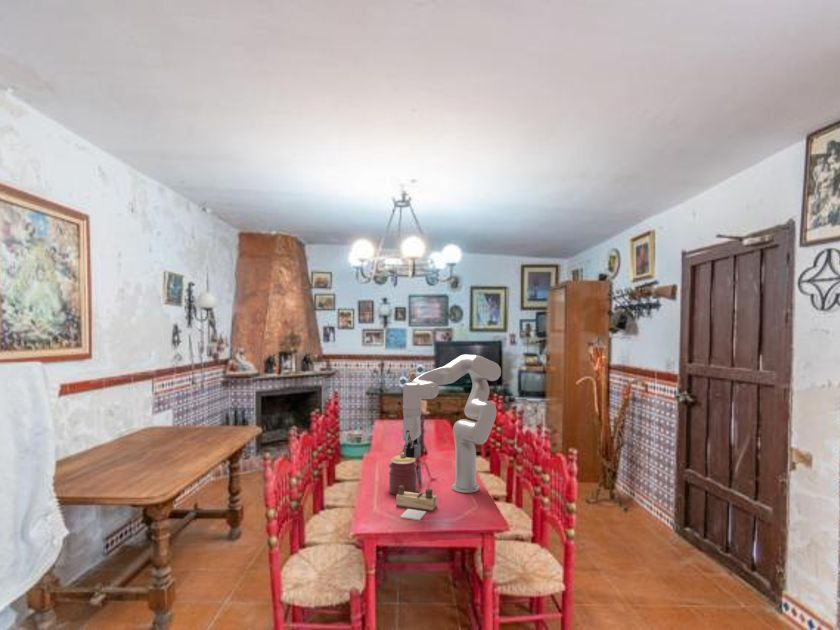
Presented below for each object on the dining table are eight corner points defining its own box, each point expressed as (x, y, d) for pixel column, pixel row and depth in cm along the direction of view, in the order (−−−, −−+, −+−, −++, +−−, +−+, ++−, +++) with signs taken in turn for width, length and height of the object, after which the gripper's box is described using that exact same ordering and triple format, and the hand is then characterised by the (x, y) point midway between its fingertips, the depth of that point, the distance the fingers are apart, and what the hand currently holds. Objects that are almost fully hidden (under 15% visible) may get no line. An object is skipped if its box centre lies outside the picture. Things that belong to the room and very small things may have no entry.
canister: (413, 497, 205) (413, 457, 205) (385, 495, 207) (385, 455, 208) (419, 487, 217) (419, 449, 218) (392, 485, 220) (392, 447, 220)
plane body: (401, 501, 200) (401, 483, 200) (436, 506, 194) (436, 488, 195) (396, 506, 195) (396, 488, 195) (432, 511, 189) (432, 492, 189)
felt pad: (407, 510, 191) (407, 508, 191) (426, 512, 188) (426, 511, 188) (400, 517, 183) (400, 516, 183) (419, 520, 180) (419, 519, 180)
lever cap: (408, 453, 199) (408, 440, 199) (420, 455, 197) (420, 441, 197) (404, 457, 194) (404, 443, 194) (416, 458, 193) (416, 444, 193)
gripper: (411, 408, 205) (411, 449, 205) (396, 415, 189) (396, 460, 189) (427, 409, 203) (427, 451, 203) (413, 416, 187) (413, 462, 187)
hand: (412, 455), depth 196 cm, fingers closed on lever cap, 5 cm apart
